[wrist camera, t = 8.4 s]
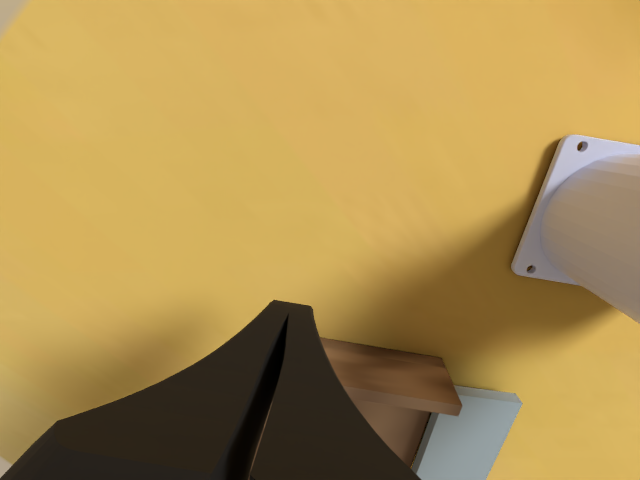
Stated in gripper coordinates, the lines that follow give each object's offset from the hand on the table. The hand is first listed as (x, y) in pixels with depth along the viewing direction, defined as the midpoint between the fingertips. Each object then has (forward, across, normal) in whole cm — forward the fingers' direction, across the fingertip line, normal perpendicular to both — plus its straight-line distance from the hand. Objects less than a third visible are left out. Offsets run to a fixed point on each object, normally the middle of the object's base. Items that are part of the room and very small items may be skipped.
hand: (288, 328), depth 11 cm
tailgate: (+8, -10, +12) cm, 18 cm away
